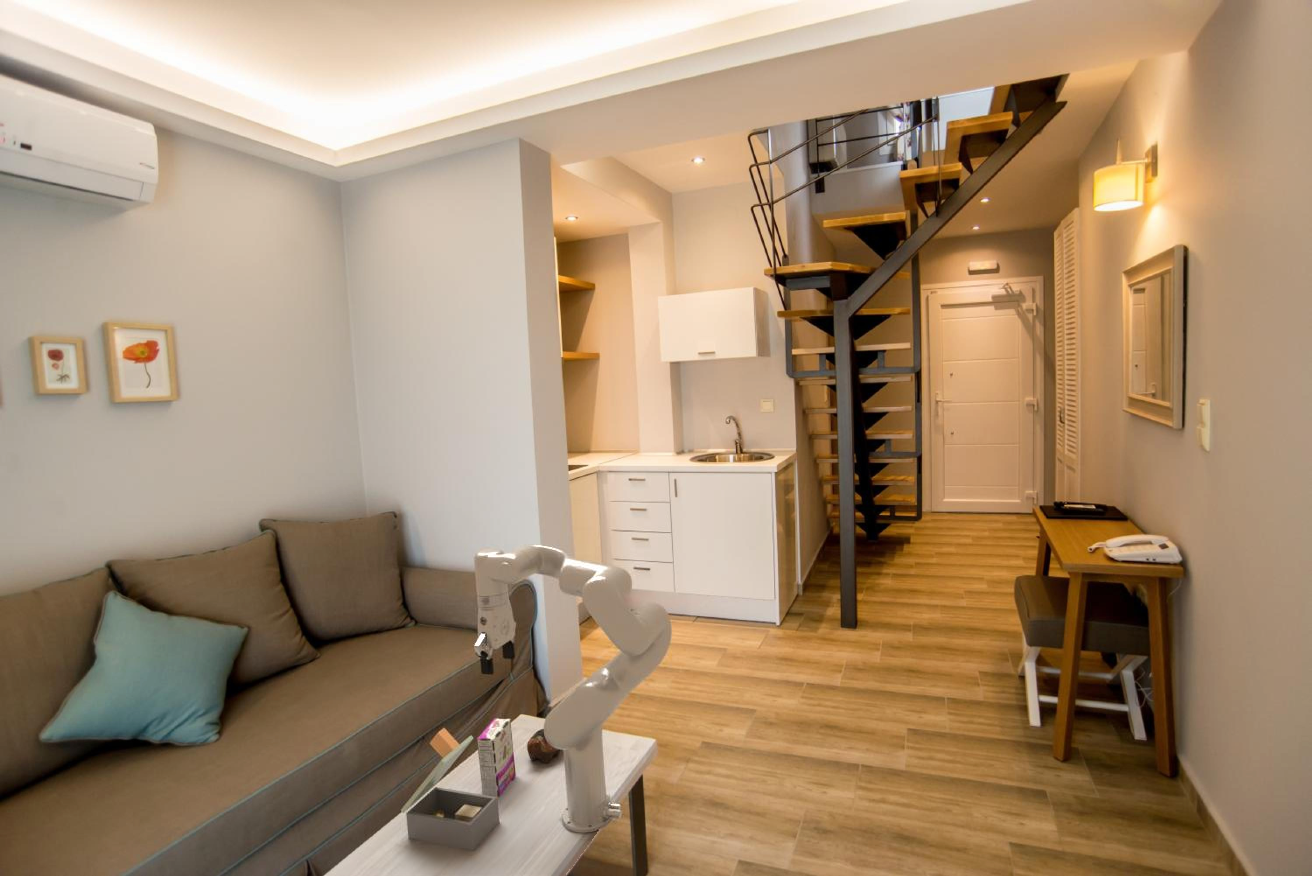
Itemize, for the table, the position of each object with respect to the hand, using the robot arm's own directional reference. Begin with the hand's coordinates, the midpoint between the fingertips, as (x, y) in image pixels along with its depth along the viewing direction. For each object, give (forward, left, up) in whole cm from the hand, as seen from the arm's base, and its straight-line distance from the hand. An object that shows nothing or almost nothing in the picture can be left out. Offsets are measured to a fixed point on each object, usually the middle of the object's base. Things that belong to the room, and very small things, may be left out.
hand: (498, 665), depth 173 cm
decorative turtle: (+2, -23, -37) cm, 43 cm away
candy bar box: (+7, -6, -36) cm, 38 cm away
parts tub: (+7, +14, -36) cm, 39 cm away
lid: (+10, +13, -22) cm, 28 cm away
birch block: (+4, +12, -36) cm, 38 cm away
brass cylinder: (+11, +15, -36) cm, 40 cm away
